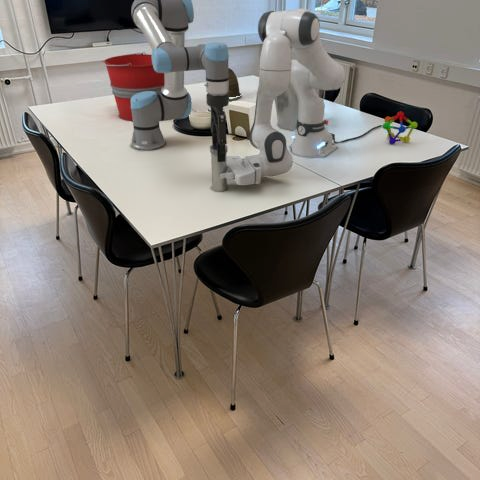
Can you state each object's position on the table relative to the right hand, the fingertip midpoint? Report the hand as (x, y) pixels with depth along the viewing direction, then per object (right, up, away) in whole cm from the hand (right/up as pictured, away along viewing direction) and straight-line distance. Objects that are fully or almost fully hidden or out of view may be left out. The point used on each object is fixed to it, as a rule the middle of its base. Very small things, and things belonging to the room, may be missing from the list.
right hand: (216, 172), depth 164 cm
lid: (+1, +8, -5) cm, 9 cm away
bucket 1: (-47, +46, +85) cm, 107 cm away
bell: (0, +66, +118) cm, 135 cm away
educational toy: (+83, +21, +47) cm, 97 cm away
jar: (+1, -5, +4) cm, 7 cm away
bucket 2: (+38, +35, +69) cm, 87 cm away
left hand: (+1, +5, -3) cm, 6 cm away
